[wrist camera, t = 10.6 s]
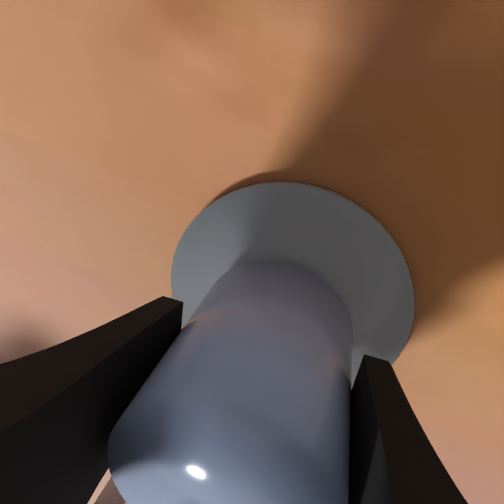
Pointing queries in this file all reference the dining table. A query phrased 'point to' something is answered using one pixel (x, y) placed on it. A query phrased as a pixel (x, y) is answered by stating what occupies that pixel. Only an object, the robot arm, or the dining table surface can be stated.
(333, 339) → the cup
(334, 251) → the coaster
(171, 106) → the dining table surface
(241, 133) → the dining table surface
